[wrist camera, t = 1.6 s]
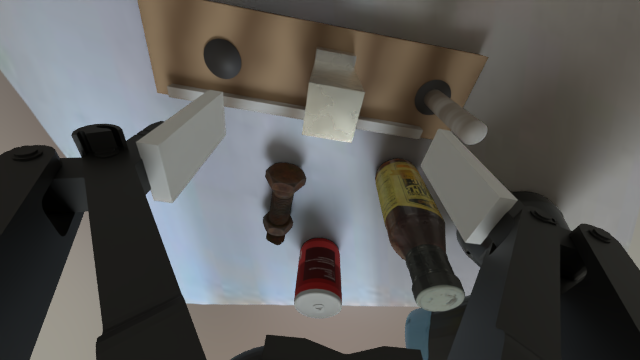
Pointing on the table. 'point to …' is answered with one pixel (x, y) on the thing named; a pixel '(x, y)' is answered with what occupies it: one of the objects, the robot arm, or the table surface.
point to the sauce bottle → (418, 235)
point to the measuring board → (307, 67)
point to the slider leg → (333, 96)
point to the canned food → (318, 279)
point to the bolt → (281, 199)
